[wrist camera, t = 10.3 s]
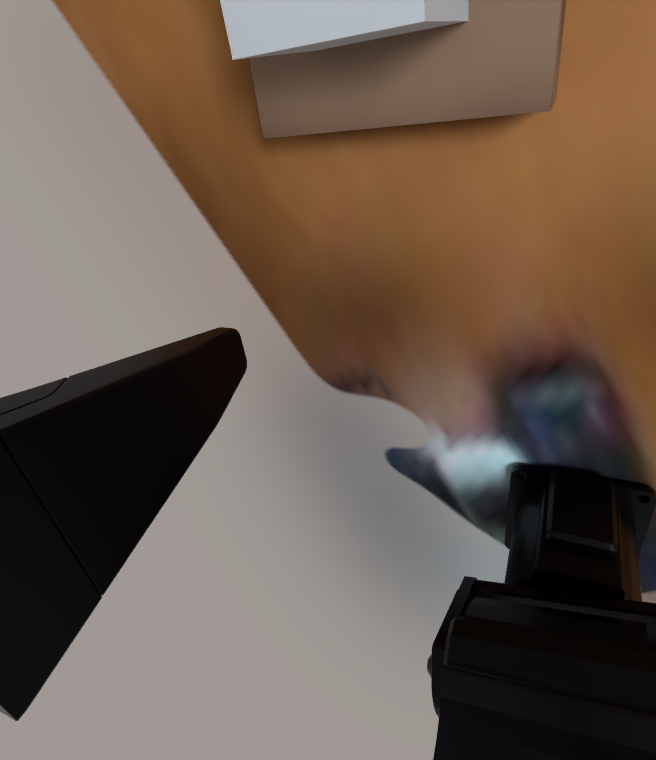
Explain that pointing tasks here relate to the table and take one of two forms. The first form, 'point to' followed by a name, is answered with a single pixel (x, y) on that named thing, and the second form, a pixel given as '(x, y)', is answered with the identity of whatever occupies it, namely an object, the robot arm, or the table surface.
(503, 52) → the brown block
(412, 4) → the grey-blue block
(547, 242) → the table surface
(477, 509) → the table surface
